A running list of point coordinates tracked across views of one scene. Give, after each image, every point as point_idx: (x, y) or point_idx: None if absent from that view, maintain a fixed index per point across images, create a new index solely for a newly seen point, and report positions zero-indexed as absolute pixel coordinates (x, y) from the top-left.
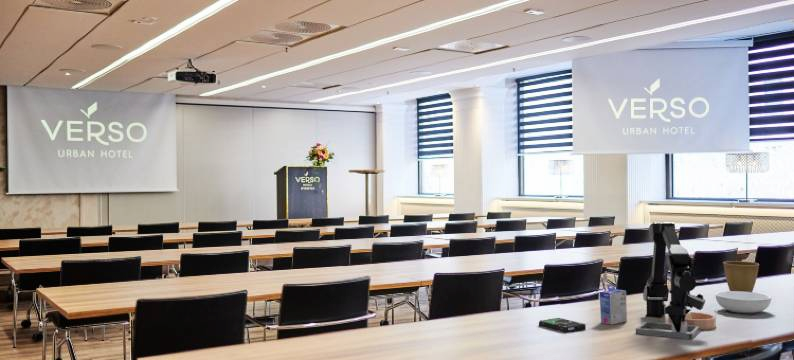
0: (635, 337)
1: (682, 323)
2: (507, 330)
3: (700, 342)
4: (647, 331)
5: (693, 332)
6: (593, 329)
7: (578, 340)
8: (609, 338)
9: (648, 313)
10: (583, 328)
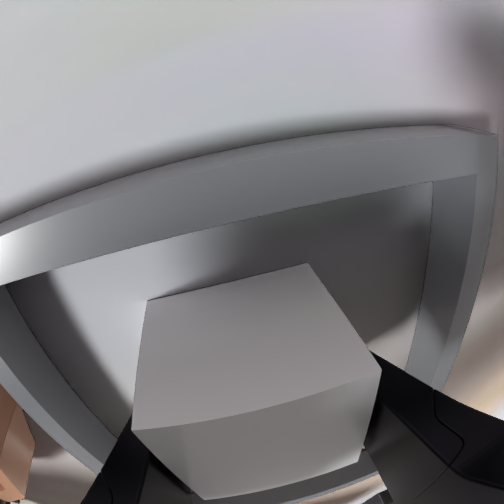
0: (465, 394)
1: (331, 416)
2: None
3: (497, 41)
4: None
5: (420, 139)
6: (364, 495)
7: (500, 413)
8: (482, 409)
9: (6, 501)
10: (386, 494)
